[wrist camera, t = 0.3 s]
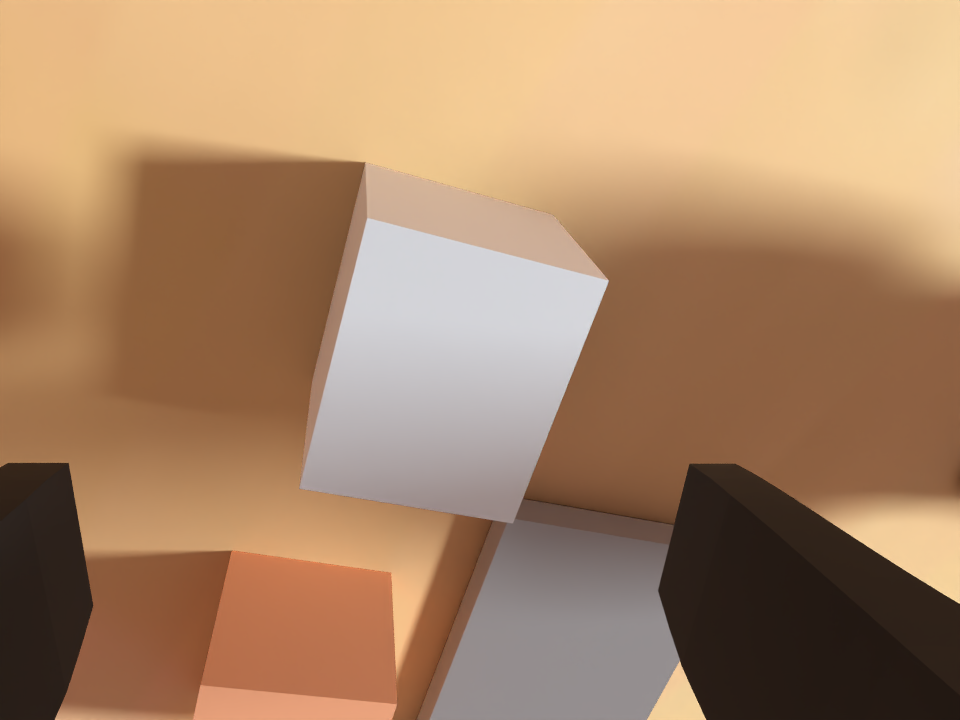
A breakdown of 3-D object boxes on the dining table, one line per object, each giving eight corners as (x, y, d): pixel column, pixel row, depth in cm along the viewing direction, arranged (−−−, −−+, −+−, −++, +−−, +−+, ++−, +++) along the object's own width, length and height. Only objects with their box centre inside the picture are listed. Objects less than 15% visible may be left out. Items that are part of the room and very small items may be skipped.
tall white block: (551, 213, 17) (609, 280, 13) (481, 414, 20) (512, 523, 16) (365, 161, 16) (367, 217, 12) (312, 379, 18) (299, 489, 14)
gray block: (723, 533, 22) (737, 556, 22) (563, 830, 28) (569, 858, 27) (502, 495, 21) (508, 518, 20) (378, 819, 26) (378, 849, 25)
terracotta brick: (390, 570, 21) (397, 704, 17) (347, 705, 24) (343, 851, 20) (232, 547, 20) (200, 685, 16) (201, 690, 22) (166, 843, 18)
